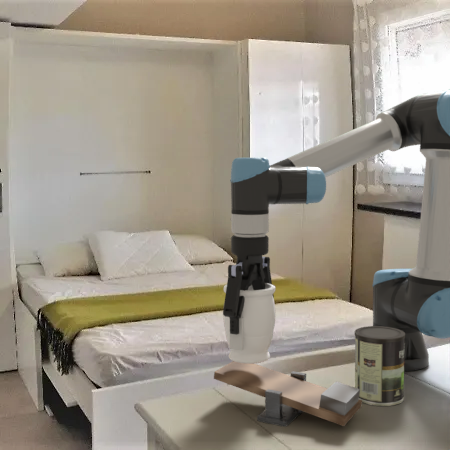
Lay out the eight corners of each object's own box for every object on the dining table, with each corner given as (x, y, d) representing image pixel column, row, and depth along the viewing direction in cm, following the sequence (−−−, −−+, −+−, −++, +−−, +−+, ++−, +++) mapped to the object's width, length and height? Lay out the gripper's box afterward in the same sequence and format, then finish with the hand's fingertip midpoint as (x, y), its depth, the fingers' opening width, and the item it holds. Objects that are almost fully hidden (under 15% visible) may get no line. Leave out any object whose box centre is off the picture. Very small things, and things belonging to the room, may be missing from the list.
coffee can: (402, 389, 141) (403, 326, 139) (405, 408, 131) (407, 340, 129) (354, 387, 143) (354, 324, 141) (353, 404, 133) (354, 337, 131)
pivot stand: (257, 420, 125) (257, 390, 125) (287, 396, 137) (287, 369, 137) (285, 426, 122) (285, 396, 122) (313, 401, 134) (313, 373, 134)
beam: (213, 378, 132) (216, 360, 131) (237, 364, 140) (239, 347, 140) (343, 426, 119) (347, 406, 118) (361, 407, 127) (364, 388, 126)
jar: (267, 349, 139) (267, 280, 137) (281, 364, 129) (282, 289, 127) (218, 352, 137) (218, 282, 135) (229, 367, 126) (229, 292, 125)
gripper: (258, 228, 142) (258, 327, 144) (203, 239, 122) (204, 354, 124) (290, 229, 138) (289, 331, 140) (239, 242, 118) (239, 360, 121)
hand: (249, 342), depth 132 cm, fingers closed on jar, 10 cm apart
